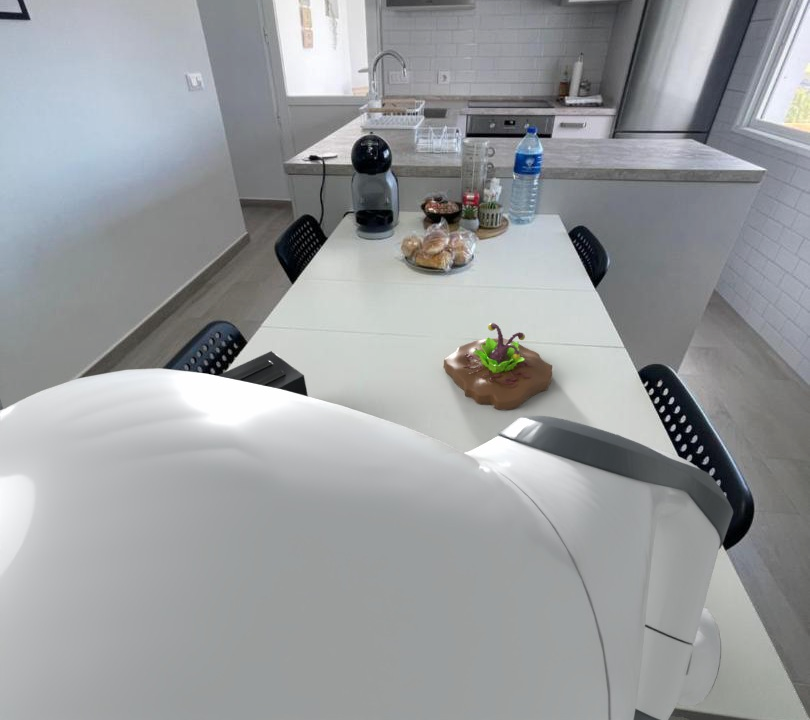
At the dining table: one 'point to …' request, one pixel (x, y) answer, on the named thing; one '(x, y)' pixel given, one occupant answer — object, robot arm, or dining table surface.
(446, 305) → the dining table surface
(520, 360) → the plant
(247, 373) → the toaster
